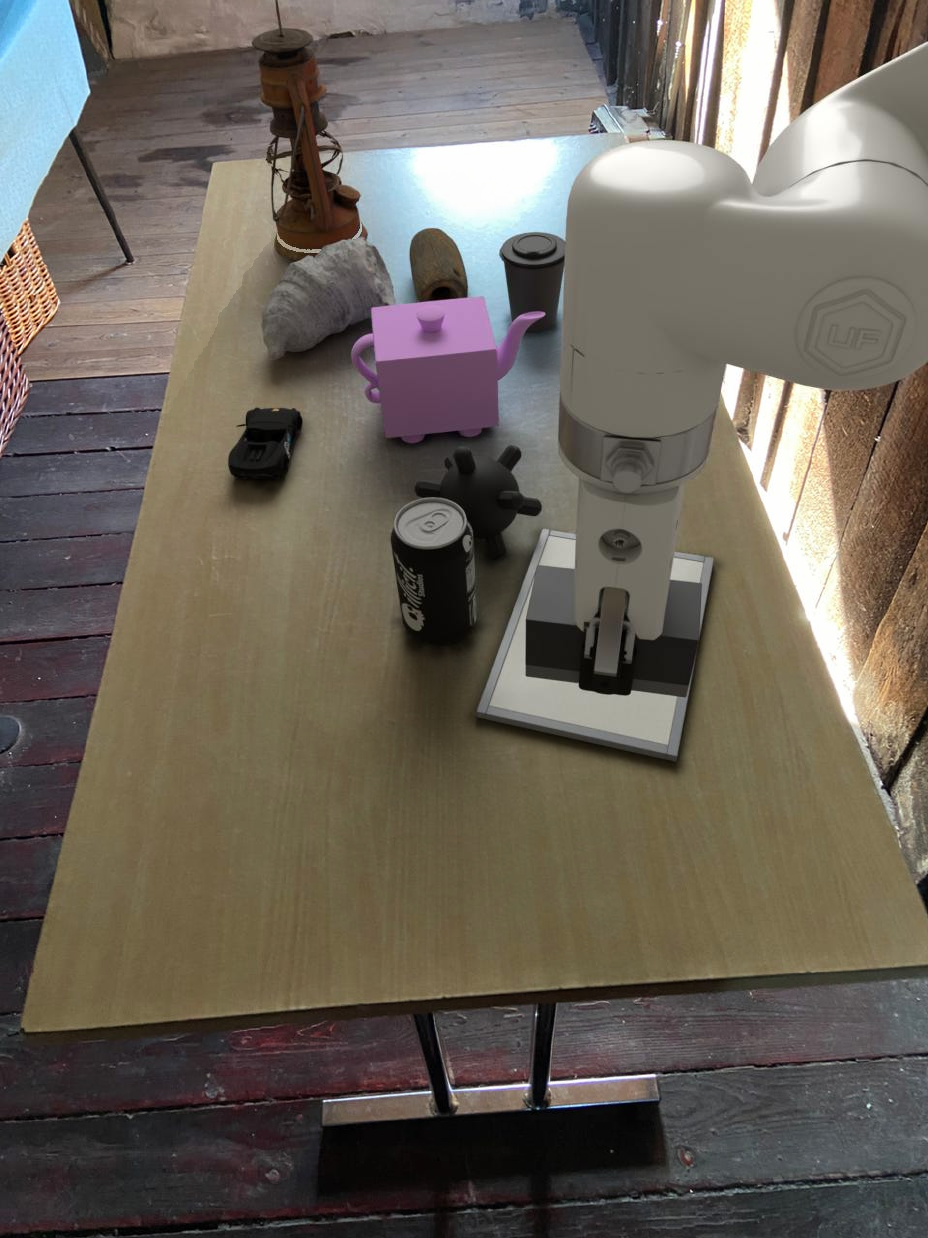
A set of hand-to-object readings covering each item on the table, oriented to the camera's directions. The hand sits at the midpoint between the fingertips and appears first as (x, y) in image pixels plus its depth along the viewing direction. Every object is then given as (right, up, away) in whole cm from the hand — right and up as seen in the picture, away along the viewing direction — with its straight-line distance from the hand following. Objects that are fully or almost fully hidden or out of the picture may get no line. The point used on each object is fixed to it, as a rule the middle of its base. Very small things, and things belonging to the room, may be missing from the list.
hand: (609, 653), depth 59 cm
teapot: (-10, +25, +43) cm, 51 cm away
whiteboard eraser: (0, 0, 0) cm, 0 cm away
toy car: (-30, +20, +40) cm, 54 cm away
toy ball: (-8, +11, +31) cm, 33 cm away
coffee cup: (-1, +38, +54) cm, 67 cm away
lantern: (-29, +55, +71) cm, 94 cm away
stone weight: (-12, +43, +59) cm, 74 cm away
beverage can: (-11, +2, +23) cm, 26 cm away
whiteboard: (+3, +1, +21) cm, 21 cm away
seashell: (-25, +37, +55) cm, 71 cm away
